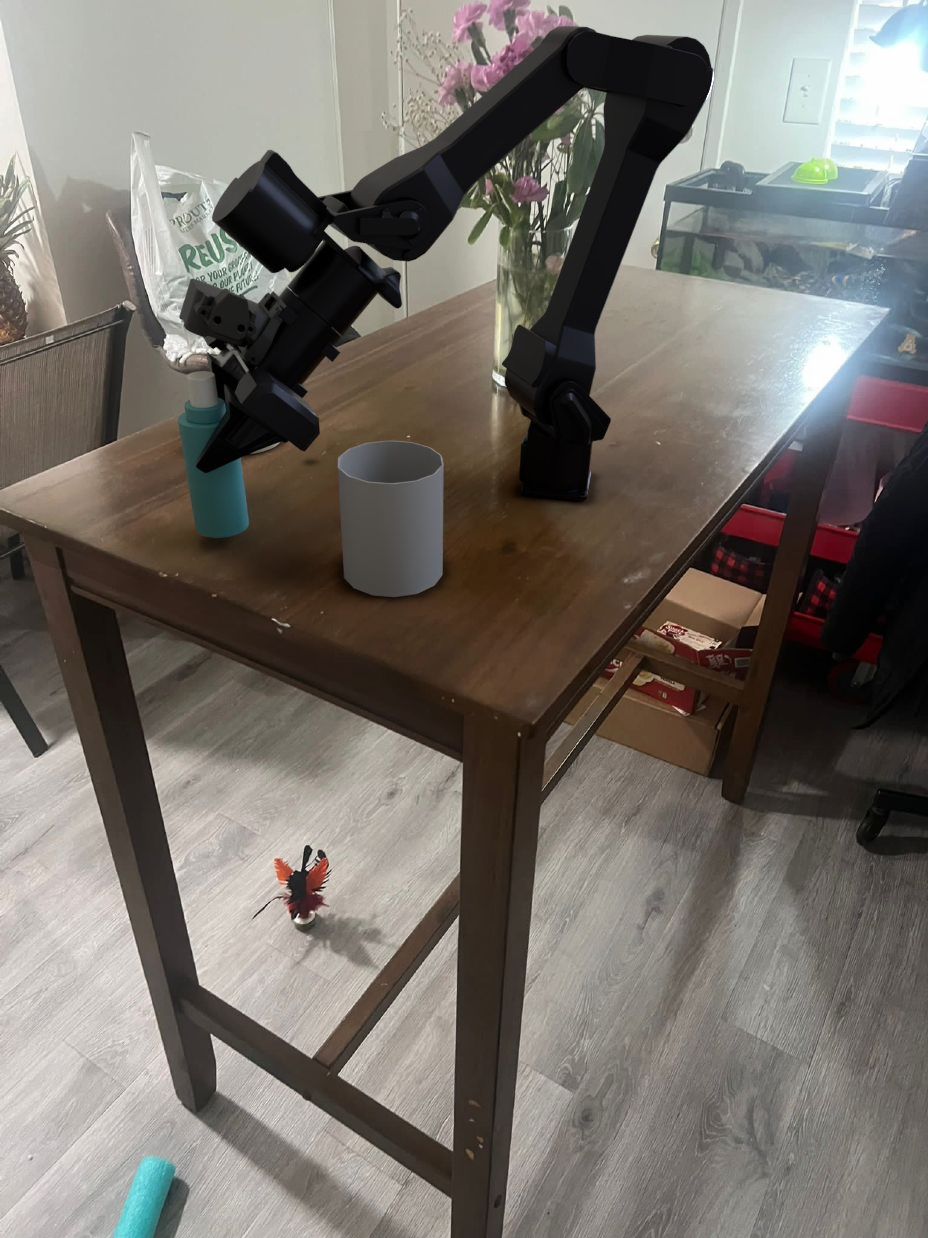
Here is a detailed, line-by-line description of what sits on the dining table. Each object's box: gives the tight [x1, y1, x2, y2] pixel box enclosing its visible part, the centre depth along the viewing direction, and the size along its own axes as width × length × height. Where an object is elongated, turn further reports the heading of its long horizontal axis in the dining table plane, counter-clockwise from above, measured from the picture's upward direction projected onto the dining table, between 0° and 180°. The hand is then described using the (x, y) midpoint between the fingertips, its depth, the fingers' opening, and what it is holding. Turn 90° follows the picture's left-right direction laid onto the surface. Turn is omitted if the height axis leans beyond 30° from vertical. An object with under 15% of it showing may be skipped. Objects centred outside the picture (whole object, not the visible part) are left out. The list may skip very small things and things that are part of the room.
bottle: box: [177, 370, 250, 539], centre depth 76 cm, size 5×5×14 cm
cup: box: [337, 440, 445, 598], centre depth 74 cm, size 8×8×10 cm
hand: (195, 457), depth 76 cm, fingers closed on bottle, 4 cm apart
